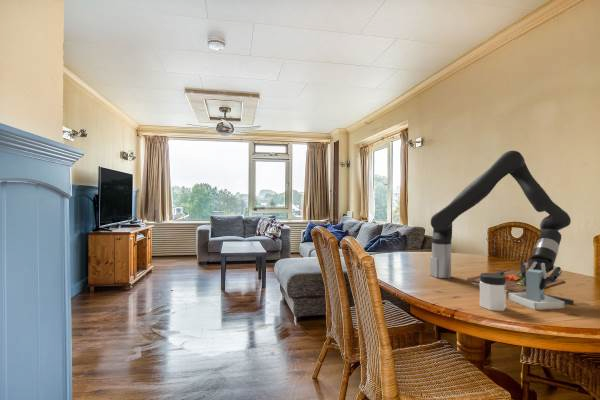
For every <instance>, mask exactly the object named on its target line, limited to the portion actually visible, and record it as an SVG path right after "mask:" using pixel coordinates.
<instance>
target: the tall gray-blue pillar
mask: <svg viewBox="0 0 600 400" xmlns="http://www.w3.org/2000/svg"><path fill="white" fill-rule="evenodd" d="M541 279H543V271H542V270H535V269H533V270H532V269H530V270H527V269H526V299H528V300H533V301H537V302H540V301H541V300H544V294H545V289H543V290H540V288H539V285H540V282H541Z"/></svg>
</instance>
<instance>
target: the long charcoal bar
mask: <svg viewBox="0 0 600 400" xmlns="http://www.w3.org/2000/svg"><path fill="white" fill-rule="evenodd" d="M544 295H546V296H549V297H552V298H555V299H558V300H561V301H564V302H565V304H566V303H567V305H574V301H575V300H574V299H570V298H565V297H560V296H556V295H552V294H545V293H544Z"/></svg>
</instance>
